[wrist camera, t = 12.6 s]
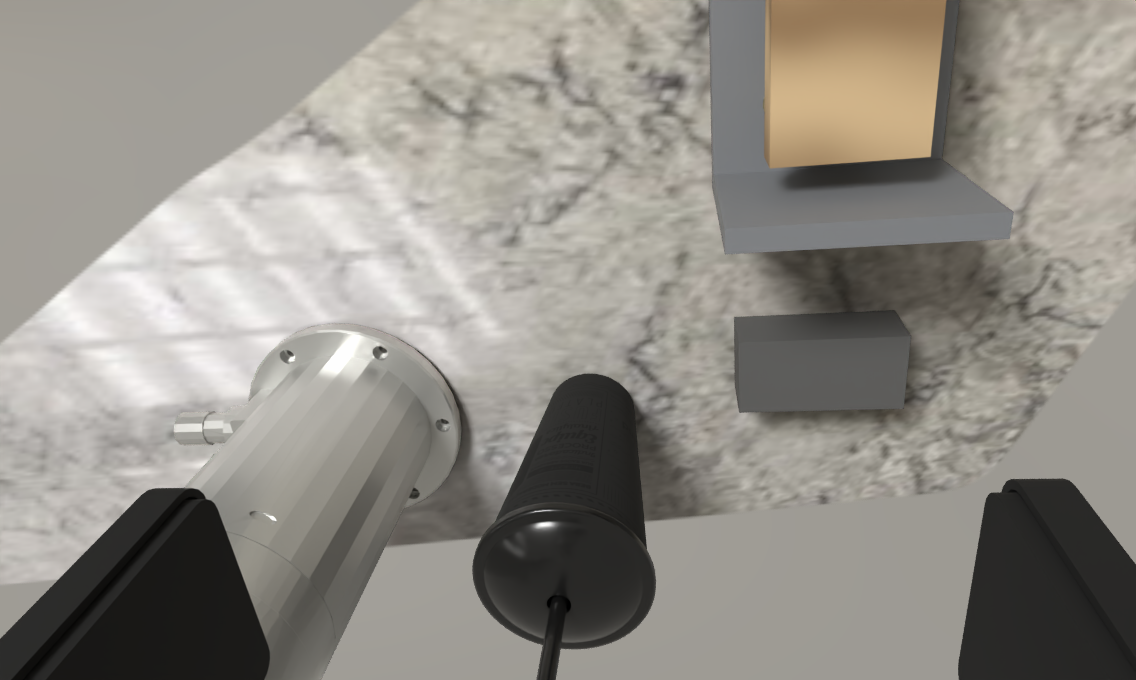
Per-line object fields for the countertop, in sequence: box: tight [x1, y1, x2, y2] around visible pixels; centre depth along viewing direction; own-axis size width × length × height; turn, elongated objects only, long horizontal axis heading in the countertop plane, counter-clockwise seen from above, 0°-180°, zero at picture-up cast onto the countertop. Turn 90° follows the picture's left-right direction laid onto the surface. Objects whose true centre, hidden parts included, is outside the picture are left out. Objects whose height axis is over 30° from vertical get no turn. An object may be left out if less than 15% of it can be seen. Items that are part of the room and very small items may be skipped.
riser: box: [734, 311, 911, 413], centre depth 39 cm, size 8×4×3 cm, turn 96°
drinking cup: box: [473, 374, 656, 680], centre depth 35 cm, size 8×8×20 cm
